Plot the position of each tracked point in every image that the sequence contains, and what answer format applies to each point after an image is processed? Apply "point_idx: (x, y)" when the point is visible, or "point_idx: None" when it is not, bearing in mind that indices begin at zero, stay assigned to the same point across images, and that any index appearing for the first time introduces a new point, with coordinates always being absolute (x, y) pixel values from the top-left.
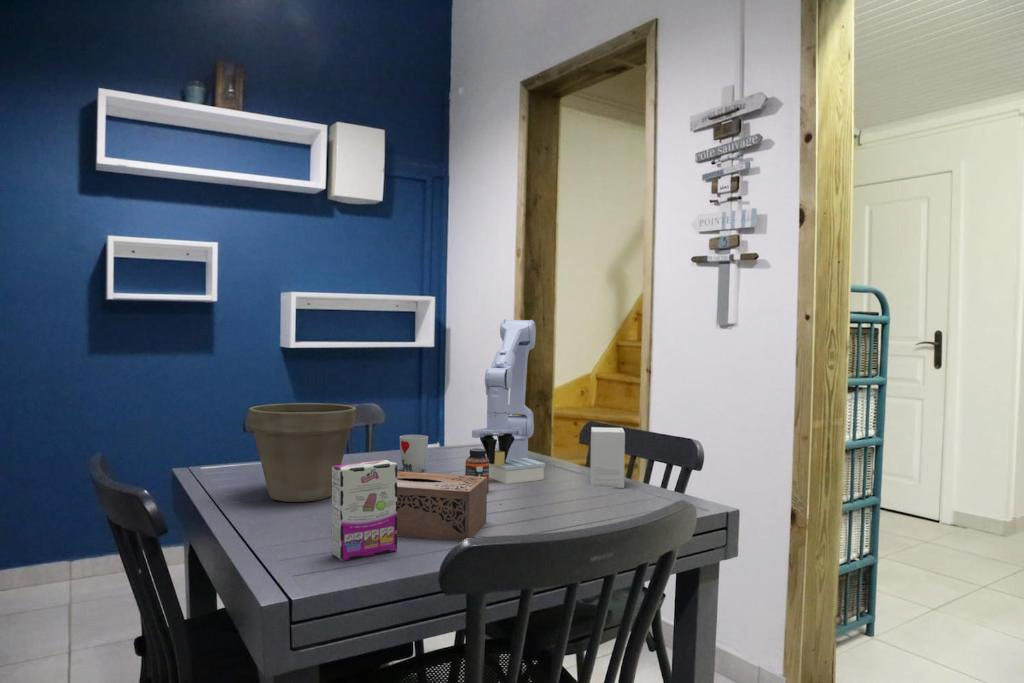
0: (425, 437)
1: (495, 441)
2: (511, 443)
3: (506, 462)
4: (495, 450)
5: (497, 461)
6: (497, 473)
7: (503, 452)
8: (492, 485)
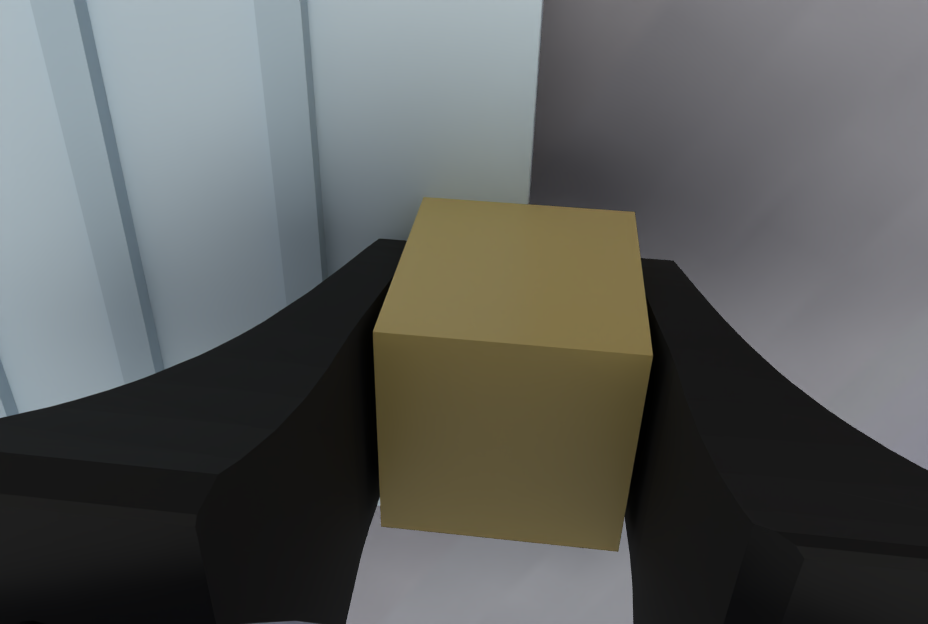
0: None
1: (804, 510)
2: (114, 394)
3: (322, 278)
4: (465, 531)
5: (575, 245)
6: None
7: (408, 326)
8: (669, 78)
